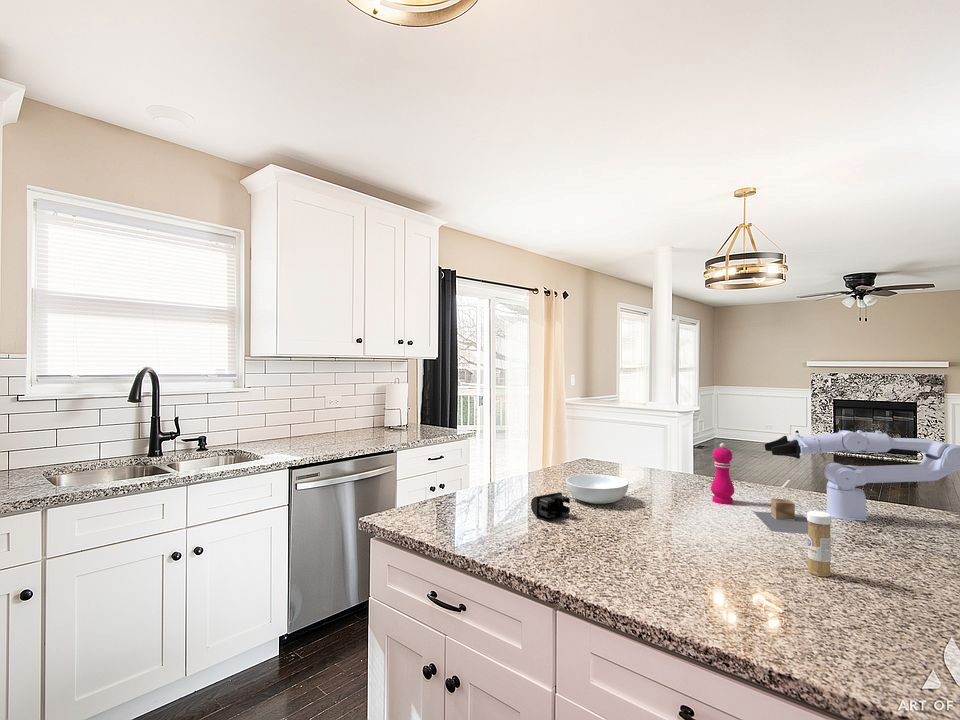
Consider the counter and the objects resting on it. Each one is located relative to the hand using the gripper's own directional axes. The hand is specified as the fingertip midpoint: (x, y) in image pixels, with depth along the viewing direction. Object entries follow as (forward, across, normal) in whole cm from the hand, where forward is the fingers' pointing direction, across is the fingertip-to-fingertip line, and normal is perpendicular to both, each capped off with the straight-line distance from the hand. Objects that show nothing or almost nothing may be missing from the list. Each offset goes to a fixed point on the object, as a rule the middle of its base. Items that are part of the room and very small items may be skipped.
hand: (768, 449), depth 166 cm
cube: (+1, +7, +19) cm, 21 cm away
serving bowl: (+55, 0, +11) cm, 57 cm away
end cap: (+68, +24, +9) cm, 73 cm away
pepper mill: (+15, -8, +18) cm, 25 cm away
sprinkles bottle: (+6, +51, +19) cm, 55 cm away
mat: (+1, +12, +20) cm, 23 cm away
